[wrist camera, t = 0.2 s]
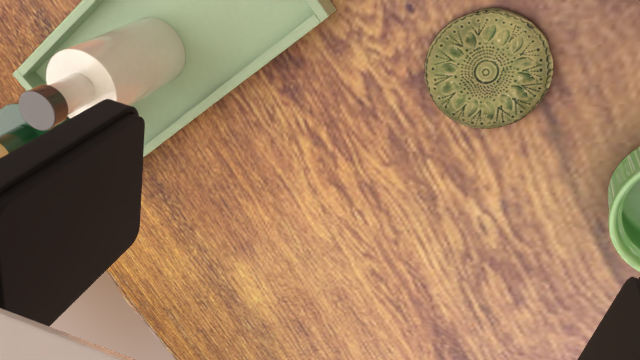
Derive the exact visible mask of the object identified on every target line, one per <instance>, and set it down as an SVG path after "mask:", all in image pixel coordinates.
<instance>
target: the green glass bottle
mask: <svg viewBox="0 0 640 360" xmlns="http://www.w3.org/2000/svg"><path fill="white" fill-rule="evenodd" d="M69 119H70V118H69V117H67V118H66V120H65V121H67V120H69ZM65 121H64V122H65ZM64 122H62V123H64ZM62 123H60V124H62ZM60 124H59V125H60ZM57 126H58V125H57ZM57 126H55V127H57ZM55 127H53V128H55ZM53 128H52V129H53ZM50 130H51V129H50ZM48 131H49V130H47V131H41V130H37V129H35V128H33V127H32V126H30V125H29V124H28V123H27V122H26V121H25V120H24V118H23V117H22V115H21V113H20V110H19V100H17V101H14V102H12V103H10V104H8V105H6V106H4V107H3V108H2V109H1V110H0V158H2V157H3V156H5V155H7V154H9V153H10V152H12V151H14V150H16V149H18V148H19V147H21V146H23V145H25V144H26V143H28V142H30V141H32V140H33V139H35V138H37V137H39V136H41V135H42V134H44V133H46V132H48Z"/></svg>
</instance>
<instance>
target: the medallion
mask: <svg viewBox="0 0 640 360" xmlns="http://www.w3.org/2000/svg"><path fill="white" fill-rule="evenodd" d="M553 69H554V67H553V59H552V54H551V50H550V48H549V44H548V41H547V38H546V37H545V35H544V34H543V33H542V32H541V30H540V29H539V28H537V26H536V25H535V24H534V23H532V22H531V21H530V20H528V19H526V18H525V17H523V16H521V15H519V14H517V13H515V12H512V11H509V10H505V9H498V8H490V9H481V10H477V11H476V12H474V11H473V13H472V14H468V15H465V16H463V17H459V18H458V19H454V20H453V21H451V22H450V23H449V24H448V25H447V26H445V27H444V28H443V29H442V30H441V31H440V32H439V33H438V34H437V36H436V37H435V39H434V41H433V42H432V44H431V46H430V48H429V51H428V53H427V57H426V63H425V72H424V73H425V81H426V84H427V88H428V92H429V94H430V95H431V96H432V99H433V101H434V102H435V104H436V105H437V107H438V108H439V109H440V110H441V111H442V112H443V113H444V114H445V115H447V116H448V117H449V118H451V119H452V120H454V121H456V122H458V123H460V124H462V125H465V126H468V127H473V128H480V129H484V128H487V129H491V128H497V127H502V126H505V125H508V124H512V123H514V122H517V121H519V120H520V119H522V118H523V117H525V116H526V115H527V114H529V113H530V112H531V111H532V110H533V109H534V108H535V107H536V106H537V104H538V103H540V102H541V100H542V99H543V96H544V95H545V93H546V92H547V90H548V88H549V86H550V83H551V80H552V76H553V72H554V71H553Z"/></svg>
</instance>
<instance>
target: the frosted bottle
mask: <svg viewBox="0 0 640 360" xmlns="http://www.w3.org/2000/svg"><path fill="white" fill-rule="evenodd" d="M184 64H185V50H184V46H183V43H182V41H181V39H180V37H179V35H178V34H177V32H176V31H175V30H174V29H173V28H172V27H171V26H170V25H169V24H167V23H166V22H164V21H162V20H160V19H157V18H153V17H145V18H141V19H138V20H135V21H133V22H131V23H128V24H126V25H123V26H121V27H118V28H116V29H113V30H111V31H108V32H106V33H103V34H101V35H98V36H96V37H93V38H91V39H88V40H86V41H83V42H81V43H78V44H76V45H73V46H71V47H68V48H66V49H63V50H61V51H59V52H57V53H56V54H55V55H54V56H53V57H52V58H51V59H50V61H49V63H48V66H47V70H46V82H47V85H39V86H37V87H34V88H32V89H30V90H28V91H26V92H24V93H23V94H22V95H21V96H20V98H19V110H20V113H21V115H22V117H23V118H24V120H25V121H26V122H27V123H28V124H29V125H30V126H32V127H33V128H35V129H37V130H41V131H47V130H50V129H52V128H53V127H55V126H57V125H59V124H60V123H62V122H64V121H65V120H66V118H67V117H69V118H70V119H71V118H72V117H74V116H76V115H78V114H80V113H81V112H83V111H85V110H87V109H88V108H90V107H92V106H94V105H95V104H97V103H99V102H101V101H103V100H105V99H111V100H114V101H117V102H120V103H123V104H126V105H129V106H133V105H135V104H136V103H138V102H139V101H141V100H143V99H144V98H146V97H147V96H149V95H151V94H152V93H154V92H155V91H157V90H159V89H160V88H162V87H163V86H165V85H166V84H168V83H170V82H171V81H173V80H174V79H176V78H177V77H178V76H179V75H180V74H181V72H182V70H183V68H184Z"/></svg>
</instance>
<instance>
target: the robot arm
mask: <svg viewBox="0 0 640 360" xmlns="http://www.w3.org/2000/svg"><path fill="white" fill-rule="evenodd" d="M144 133H145V122H144V119H143V118H142V117H140V116H139V114H138V111H137V109H136V108H135V107H132V106H129V105H126V104H123V103H120V102H117V101H114V100H111V99H105V100H103V101H101V102H99V103H97V104H95V105H94V106H92V107H90V108H88V109H87V110H85V111H83V112H81V113H80V114H78V115H76V116H74V117H72V118H71V119H69V120H67V121H65V122H64V123H62V124H60V125H58V126H57V127H55V128H53V129H51V130H49V131H48V132H46V133H44V134H42V135H41V136H39V137H37V138H35V139H33V140H32V141H30V142H28V143H26V144H25V145H23V146H21V147H19V148H18V149H16V150H14V151H12V152H10V153H9V154H7V155H5V156H3V157H2V158H0V360H135V359H132V358H130V357H127V356H124V355H122V354H119V353H117V352H114V351H111V350H109V349H106V348H104V347H101V346H98V345H96V344H93V343H90V342H88V341H85V340H83V339H80V338H78V337H75V336H72V335H70V334H67V333H65V332H62V331H59V330H57V329H54V328H52V327H49V326H50V325H51V324H52V323H53V322H54V321H55V320H56V319H57V318H58V317H59V316H60V315H61V314H62V313H63V312H64V311H65V310H66V309H67V308H68V307H69V306H70V305H71V304H72V303H73V302H74V301H75V300H76V299H77V298H79V296H80V295H82V293H83V292H85V290H87V289H88V288H89V287H90V286H91V285H92V284H93V283H94V281H96V279H98V278H99V277H100V276H101V275H102V274H103V273H104V272H105V271H106V270H107V269H108V268H109V267H110V266H111V265H112V264H113V263H114V262H115V261H116V260H117V259H118V258H119V257H120V256H121V255H122V254H123V253H124V252H125V251H126V250H127V249H128V248H129V247H130V246H131V245H132V244H133V243H134V241H135V239H136V237H137V235H138V232H139V227H140V209H141V190H142V171H143V152H144ZM578 360H640V277H639V279H637V278H634V277H630V278H629V279H628V280H627V281H626V282H625V283H624V285H623V287H622V288H621V290H620V292H619V293H618V295H617V296H616V298H615V300H614V301H613V303H612V305H611V306H610V308H609V309H608V311H607V313H606V314H605V316H604V318H603V319H602V321H601V322H600V324H599V326H598V327H597V329H596V331H595V332H594V334H593V335H592V337H591V339H590V340H589V342H588V344H587V345H586V347H585V348H584V350H583V352H582V353H581V355H580V357H579V358H578Z"/></svg>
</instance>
